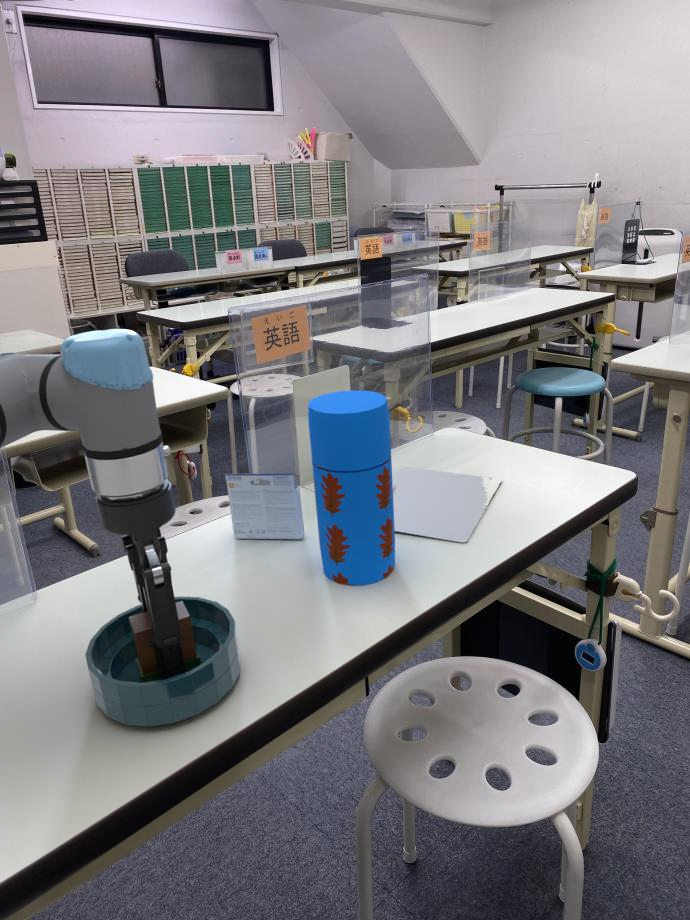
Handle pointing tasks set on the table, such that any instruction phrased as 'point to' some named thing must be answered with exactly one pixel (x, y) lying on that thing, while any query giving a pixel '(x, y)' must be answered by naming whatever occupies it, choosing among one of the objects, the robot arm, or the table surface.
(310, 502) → the table surface
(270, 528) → the ink box
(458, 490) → the white flat square sheet
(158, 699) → the bowl
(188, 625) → the sponge
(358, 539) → the thermos
